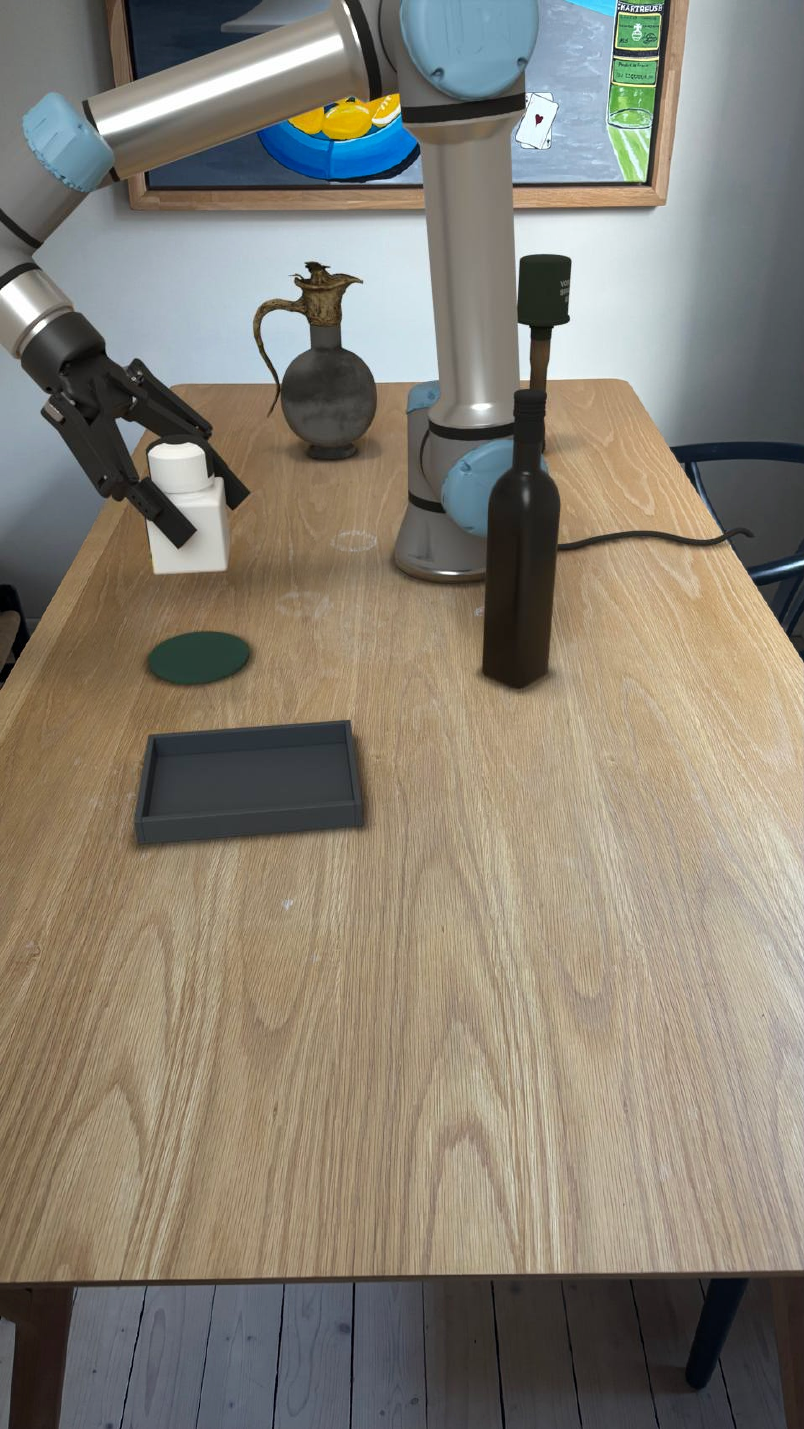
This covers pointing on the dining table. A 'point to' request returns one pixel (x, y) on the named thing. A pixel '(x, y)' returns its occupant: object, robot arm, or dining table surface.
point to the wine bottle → (521, 555)
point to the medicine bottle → (189, 506)
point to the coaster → (198, 657)
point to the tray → (248, 782)
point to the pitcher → (322, 370)
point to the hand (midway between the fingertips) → (215, 520)
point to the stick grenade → (542, 308)
